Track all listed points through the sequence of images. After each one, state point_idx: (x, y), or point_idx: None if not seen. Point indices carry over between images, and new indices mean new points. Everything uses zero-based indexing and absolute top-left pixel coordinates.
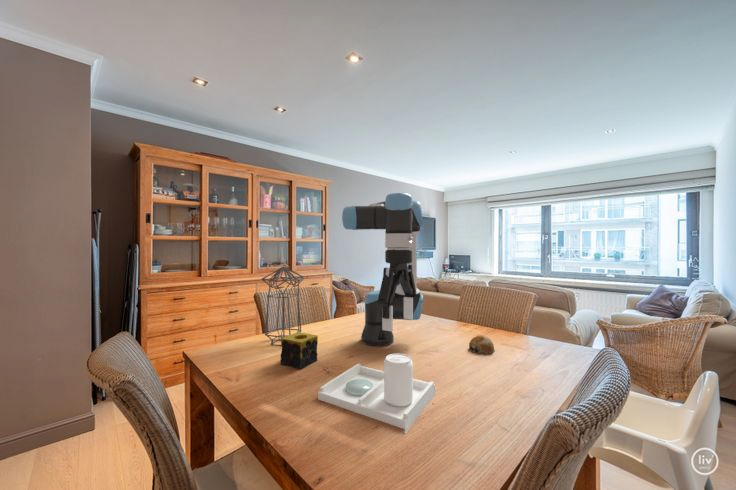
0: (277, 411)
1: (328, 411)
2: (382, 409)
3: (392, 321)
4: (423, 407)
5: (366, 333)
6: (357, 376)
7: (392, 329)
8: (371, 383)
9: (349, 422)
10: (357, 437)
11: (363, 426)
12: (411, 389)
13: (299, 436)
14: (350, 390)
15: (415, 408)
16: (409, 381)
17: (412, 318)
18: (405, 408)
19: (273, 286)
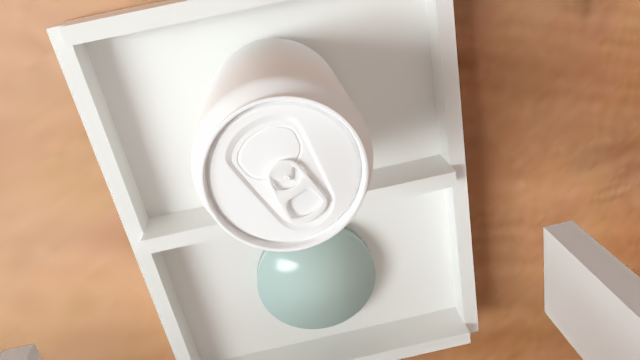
0: (568, 343)
1: (480, 246)
2: (378, 105)
3: (607, 282)
4: None
5: None
6: (238, 349)
7: (556, 233)
8: (268, 261)
9: (490, 150)
10: (543, 70)
11: (481, 98)
12: (264, 49)
13: (629, 203)
14: (375, 274)
15: None
16: (285, 58)
17: (11, 356)
18: (308, 38)
19: None
